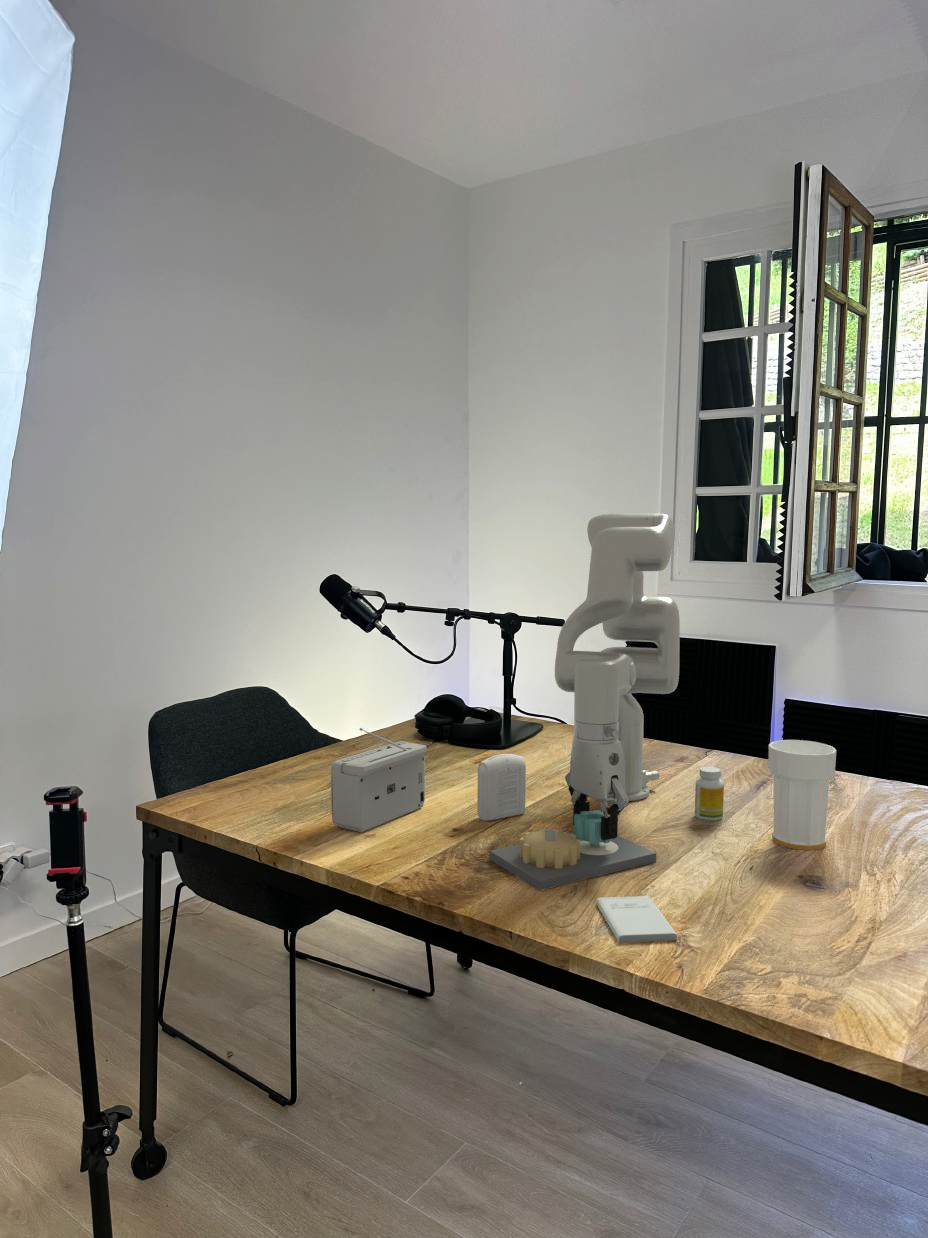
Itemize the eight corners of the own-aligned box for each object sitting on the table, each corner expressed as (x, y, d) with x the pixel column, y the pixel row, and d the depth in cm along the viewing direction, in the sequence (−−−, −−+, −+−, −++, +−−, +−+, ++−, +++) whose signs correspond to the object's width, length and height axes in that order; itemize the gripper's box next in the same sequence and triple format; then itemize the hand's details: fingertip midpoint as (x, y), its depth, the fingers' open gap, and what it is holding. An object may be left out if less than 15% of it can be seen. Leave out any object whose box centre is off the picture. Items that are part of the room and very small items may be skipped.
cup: (752, 835, 157) (754, 743, 155) (799, 827, 161) (802, 737, 160) (798, 856, 147) (801, 757, 145) (847, 847, 151) (851, 751, 149)
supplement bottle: (689, 814, 169) (690, 767, 168) (711, 811, 171) (713, 764, 170) (705, 822, 164) (706, 774, 163) (728, 819, 166) (730, 771, 165)
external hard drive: (618, 947, 116) (596, 907, 128) (677, 944, 116) (649, 905, 129) (618, 935, 116) (596, 896, 128) (677, 933, 116) (649, 894, 129)
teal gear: (598, 827, 152) (598, 807, 151) (623, 839, 146) (623, 818, 145) (566, 834, 148) (566, 814, 148) (591, 846, 142) (591, 825, 142)
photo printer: (515, 808, 173) (516, 748, 172) (528, 814, 170) (529, 753, 168) (474, 817, 168) (473, 756, 166) (486, 823, 164) (486, 761, 163)
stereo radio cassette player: (399, 800, 179) (398, 707, 177) (430, 807, 174) (430, 711, 172) (329, 828, 162) (327, 725, 160) (361, 837, 157) (360, 730, 155)
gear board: (600, 835, 157) (600, 803, 157) (656, 861, 144) (656, 827, 144) (489, 859, 146) (489, 825, 145) (539, 890, 133) (539, 853, 132)
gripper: (647, 738, 140) (645, 843, 141) (582, 719, 155) (581, 814, 156) (611, 743, 136) (610, 851, 138) (548, 723, 151) (548, 821, 153)
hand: (594, 831), depth 147 cm, fingers closed on teal gear, 7 cm apart
